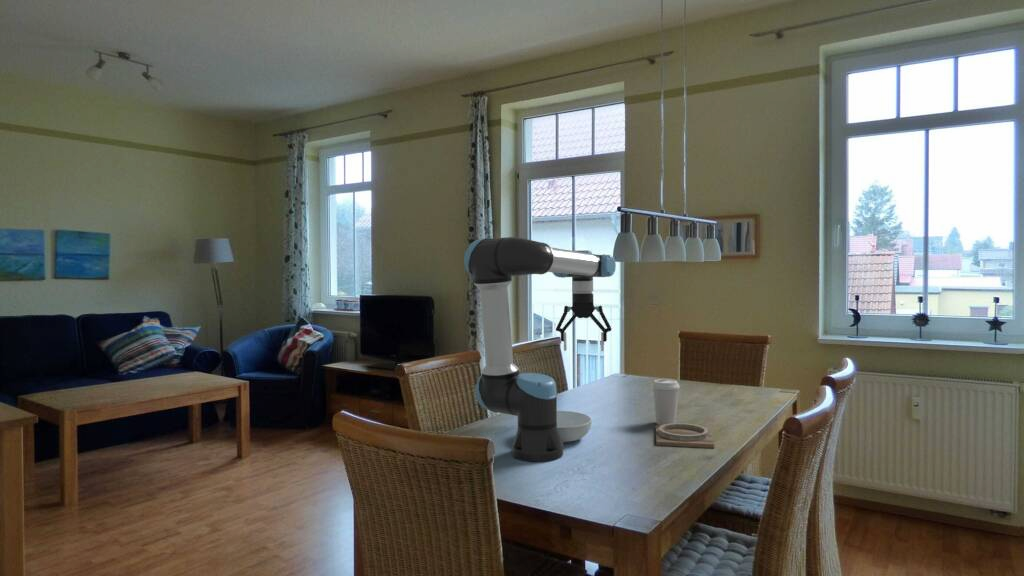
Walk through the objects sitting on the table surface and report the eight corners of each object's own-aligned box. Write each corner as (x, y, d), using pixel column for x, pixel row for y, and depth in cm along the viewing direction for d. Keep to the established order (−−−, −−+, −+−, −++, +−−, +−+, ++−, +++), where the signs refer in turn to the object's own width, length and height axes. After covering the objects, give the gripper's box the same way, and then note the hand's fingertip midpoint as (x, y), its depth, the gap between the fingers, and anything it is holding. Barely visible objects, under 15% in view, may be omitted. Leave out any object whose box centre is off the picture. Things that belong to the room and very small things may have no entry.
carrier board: (714, 448, 183) (714, 439, 183) (656, 445, 187) (656, 436, 187) (708, 430, 202) (708, 422, 202) (655, 428, 206) (655, 420, 206)
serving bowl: (538, 451, 183) (538, 429, 182) (519, 433, 203) (519, 413, 203) (602, 445, 188) (602, 423, 188) (577, 428, 208) (577, 408, 208)
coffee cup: (669, 419, 218) (668, 377, 218) (685, 425, 210) (685, 382, 209) (646, 421, 215) (646, 379, 215) (662, 428, 206) (662, 384, 206)
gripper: (617, 291, 223) (618, 349, 223) (550, 292, 227) (551, 348, 228) (617, 292, 215) (618, 352, 216) (547, 293, 220) (548, 351, 221)
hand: (583, 350), depth 222 cm, fingers open, 13 cm apart
